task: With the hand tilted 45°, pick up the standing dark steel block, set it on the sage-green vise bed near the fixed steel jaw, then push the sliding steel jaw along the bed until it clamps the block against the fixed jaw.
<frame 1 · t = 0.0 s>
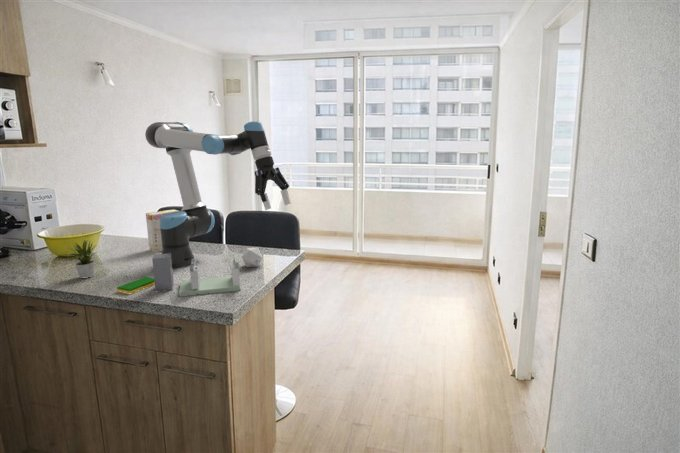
hand: (278, 206, 186), 28 cm above the counter, tool tilted 20°, fingers open, 13 cm apart
house plant: (85, 276, 187), on the counter
coffeecake box: (166, 248, 231), on the counter
die: (252, 266, 199), on the counter
vise bed: (210, 287, 172), on the counter
steel block: (164, 288, 171), on the counter
sliding jaw: (195, 273, 169), point 6 cm above the counter, slide at 0.0 cm
dish sponge: (138, 289, 172), on the counter
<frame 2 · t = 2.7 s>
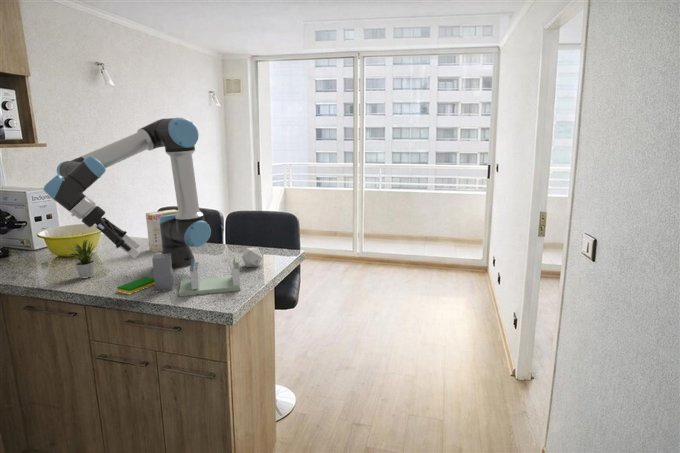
hand: (137, 251, 164), 16 cm above the counter, tool tilted 40°, fingers open, 13 cm apart
nothing on the counter moved.
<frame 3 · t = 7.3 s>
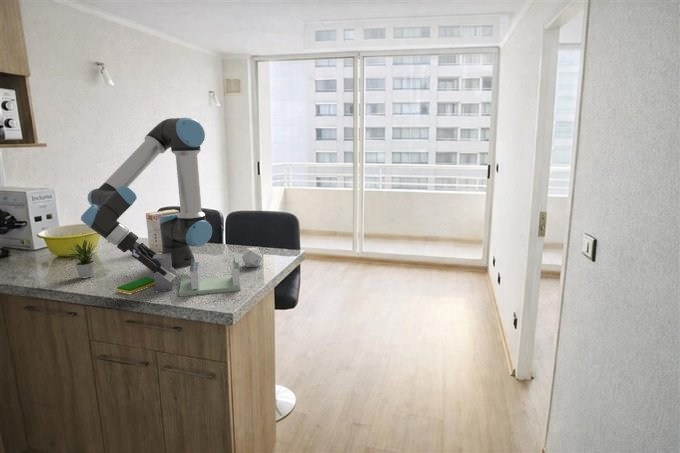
hand: (173, 276, 171), 4 cm above the counter, tool tilted 45°, fingers closed on steel block, 6 cm apart
steel block: (164, 288, 171), on the counter, touching gripper
everything else where it was.
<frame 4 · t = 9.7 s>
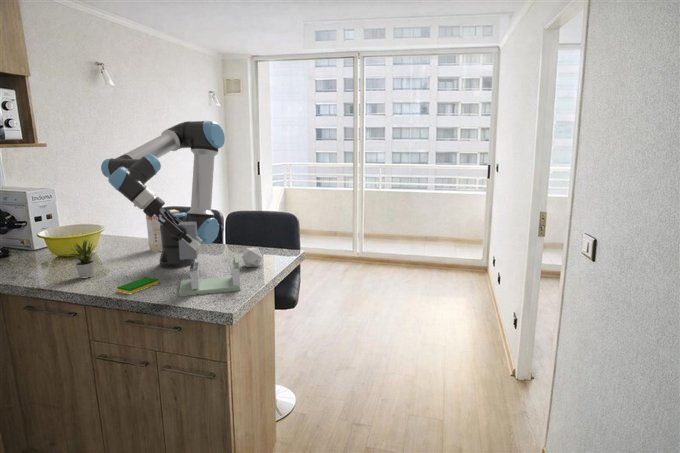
hand: (198, 245, 167), 17 cm above the counter, tool tilted 45°, fingers closed on steel block, 6 cm apart
steel block: (189, 257, 167), point 13 cm above the counter, touching gripper
everything else where it was.
when the fingers open (9 cm above the counter, at t = 12.1 s): steel block drops 2 cm, point 3 cm above the counter.
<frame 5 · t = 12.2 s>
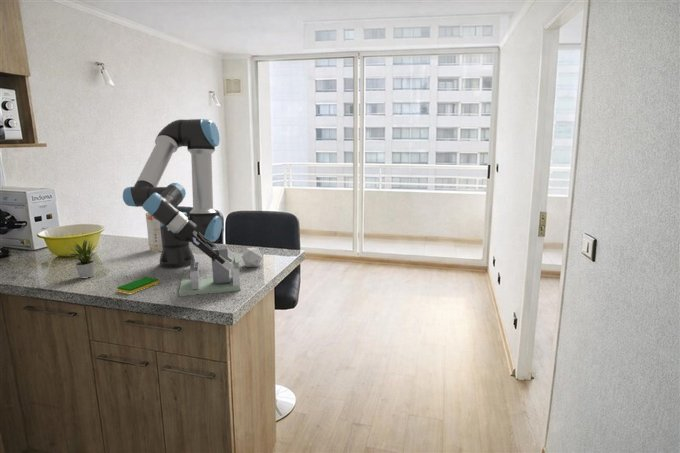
hand: (230, 265, 172), 8 cm above the counter, tool tilted 45°, fingers open, 6 cm apart
steel block: (221, 280, 172), point 3 cm above the counter
everything else where it was.
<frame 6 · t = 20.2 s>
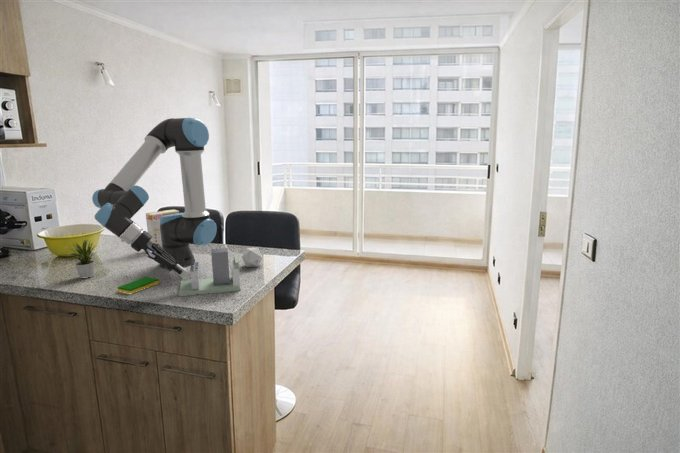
hand: (188, 277, 168), 5 cm above the counter, tool tilted 45°, fingers closed
steel block: (221, 282, 172), point 1 cm above the counter, touching vise bed
sliding jaw: (195, 273, 169), point 6 cm above the counter, slide at 0.1 cm, touching gripper
everything else where it was.
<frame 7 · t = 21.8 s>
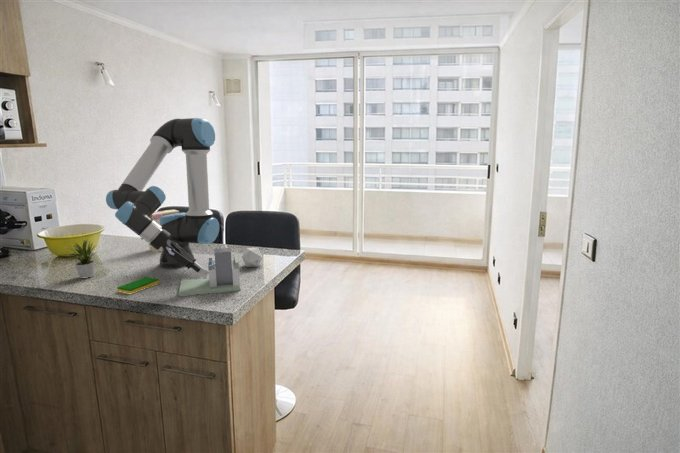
hand: (206, 275, 170), 5 cm above the counter, tool tilted 45°, fingers closed
steel block: (224, 282, 172), point 2 cm above the counter, touching sliding jaw, vise bed
sliding jaw: (212, 272, 171), point 6 cm above the counter, slide at 6.5 cm, touching gripper, steel block
everything else where it was.
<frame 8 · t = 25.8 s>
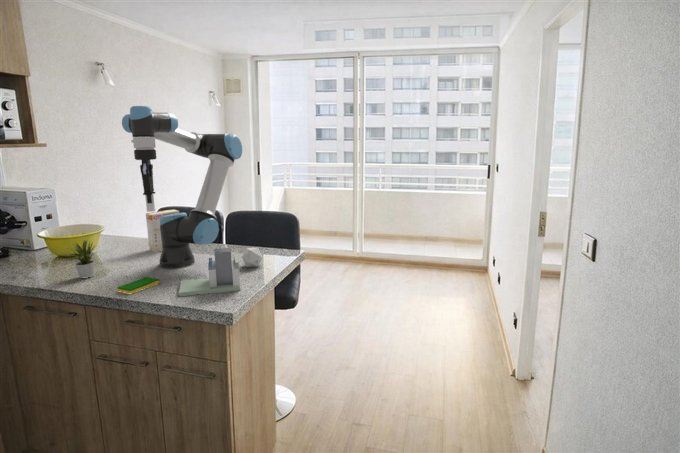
hand: (151, 211, 170), 29 cm above the counter, tool pointing down, fingers closed
sliding jaw: (212, 272, 171), point 6 cm above the counter, slide at 6.5 cm, touching steel block
everything else where it was.
at the end: sliding jaw slide at 6.5 cm; steel block inside the target area (1.6 cm from its centre), point 1.5 cm above the counter; steel block tilted 0° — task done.
